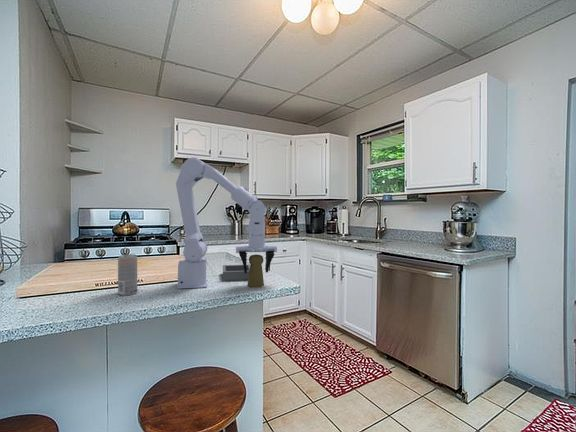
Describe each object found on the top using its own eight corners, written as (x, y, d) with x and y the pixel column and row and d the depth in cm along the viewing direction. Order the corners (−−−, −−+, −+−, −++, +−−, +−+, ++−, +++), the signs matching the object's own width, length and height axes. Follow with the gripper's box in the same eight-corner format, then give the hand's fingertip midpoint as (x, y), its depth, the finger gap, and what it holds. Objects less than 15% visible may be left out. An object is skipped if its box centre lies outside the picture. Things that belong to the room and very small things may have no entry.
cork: (263, 287, 100) (263, 256, 99) (246, 287, 100) (246, 256, 99) (264, 282, 106) (265, 253, 105) (248, 282, 106) (249, 253, 105)
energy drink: (134, 289, 94) (134, 253, 94) (139, 293, 91) (139, 256, 90) (116, 292, 91) (115, 255, 90) (120, 297, 87) (120, 258, 86)
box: (222, 281, 107) (223, 271, 106) (222, 273, 117) (222, 265, 117) (252, 280, 109) (252, 271, 109) (249, 272, 120) (249, 264, 120)
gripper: (236, 236, 96) (236, 275, 97) (278, 235, 100) (278, 274, 100) (235, 233, 103) (235, 270, 104) (275, 233, 107) (274, 269, 107)
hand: (256, 272), depth 103 cm, fingers open, 7 cm apart
